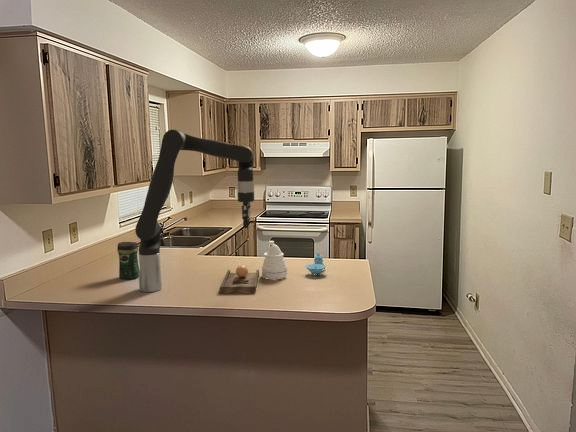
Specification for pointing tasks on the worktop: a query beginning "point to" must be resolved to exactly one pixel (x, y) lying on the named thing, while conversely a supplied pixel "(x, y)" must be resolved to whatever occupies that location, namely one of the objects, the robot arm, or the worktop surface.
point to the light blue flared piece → (316, 265)
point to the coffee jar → (128, 260)
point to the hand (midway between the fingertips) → (246, 226)
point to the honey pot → (274, 263)
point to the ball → (241, 271)
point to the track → (233, 278)
